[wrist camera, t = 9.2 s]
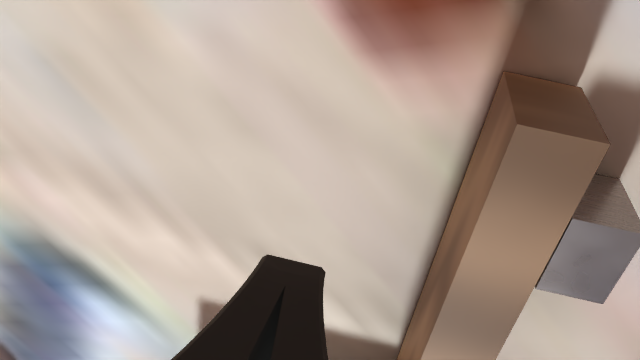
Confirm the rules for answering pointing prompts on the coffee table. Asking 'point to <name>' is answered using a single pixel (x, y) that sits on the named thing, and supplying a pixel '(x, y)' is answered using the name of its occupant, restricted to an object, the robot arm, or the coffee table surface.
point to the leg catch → (594, 244)
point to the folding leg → (506, 218)
